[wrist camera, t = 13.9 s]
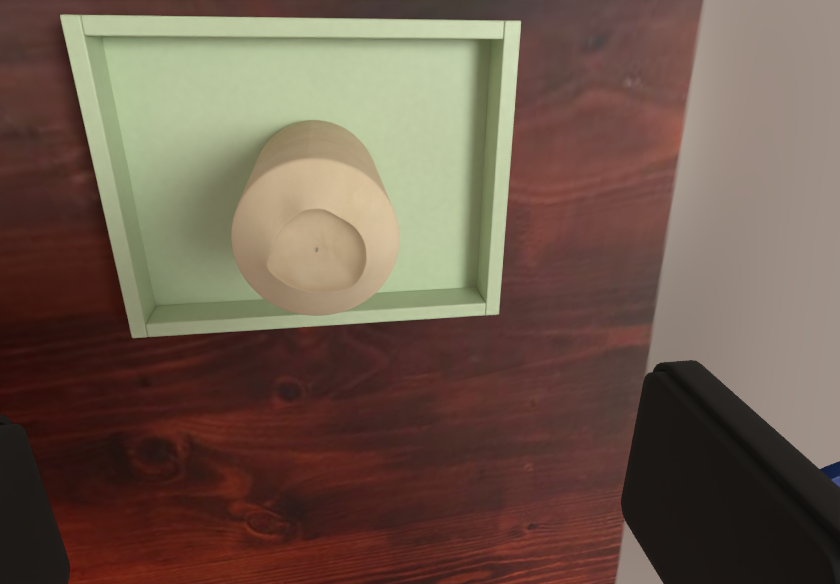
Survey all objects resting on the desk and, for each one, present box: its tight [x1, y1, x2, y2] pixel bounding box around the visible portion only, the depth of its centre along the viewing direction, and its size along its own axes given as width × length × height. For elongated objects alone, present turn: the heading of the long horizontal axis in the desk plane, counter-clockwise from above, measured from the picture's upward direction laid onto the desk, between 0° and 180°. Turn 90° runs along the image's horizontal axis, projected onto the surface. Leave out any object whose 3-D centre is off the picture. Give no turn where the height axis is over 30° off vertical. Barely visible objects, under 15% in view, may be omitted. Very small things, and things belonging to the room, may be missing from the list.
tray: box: [60, 15, 521, 338], centre depth 26 cm, size 17×13×3 cm
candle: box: [231, 120, 400, 316], centre depth 22 cm, size 6×6×10 cm
